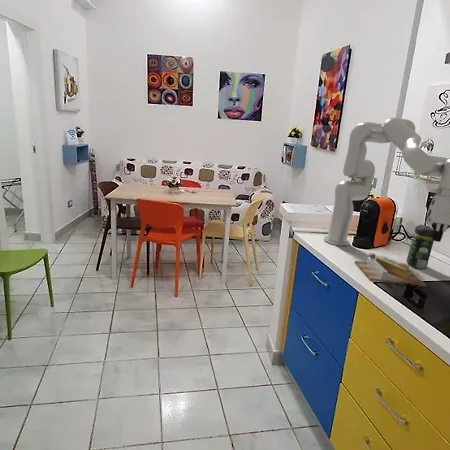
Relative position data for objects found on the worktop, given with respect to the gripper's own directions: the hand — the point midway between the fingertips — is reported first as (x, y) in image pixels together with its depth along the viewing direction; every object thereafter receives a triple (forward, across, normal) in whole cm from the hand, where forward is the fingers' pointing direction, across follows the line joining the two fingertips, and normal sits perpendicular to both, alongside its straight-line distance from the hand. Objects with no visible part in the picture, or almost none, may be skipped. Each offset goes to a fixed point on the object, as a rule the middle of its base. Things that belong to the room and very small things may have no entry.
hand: (435, 240), depth 134 cm
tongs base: (+17, -17, +5) cm, 25 cm away
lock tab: (+17, -6, +7) cm, 19 cm away
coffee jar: (+18, +7, +21) cm, 28 cm away
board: (+18, -12, +6) cm, 22 cm away
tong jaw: (+17, -11, +6) cm, 21 cm away
